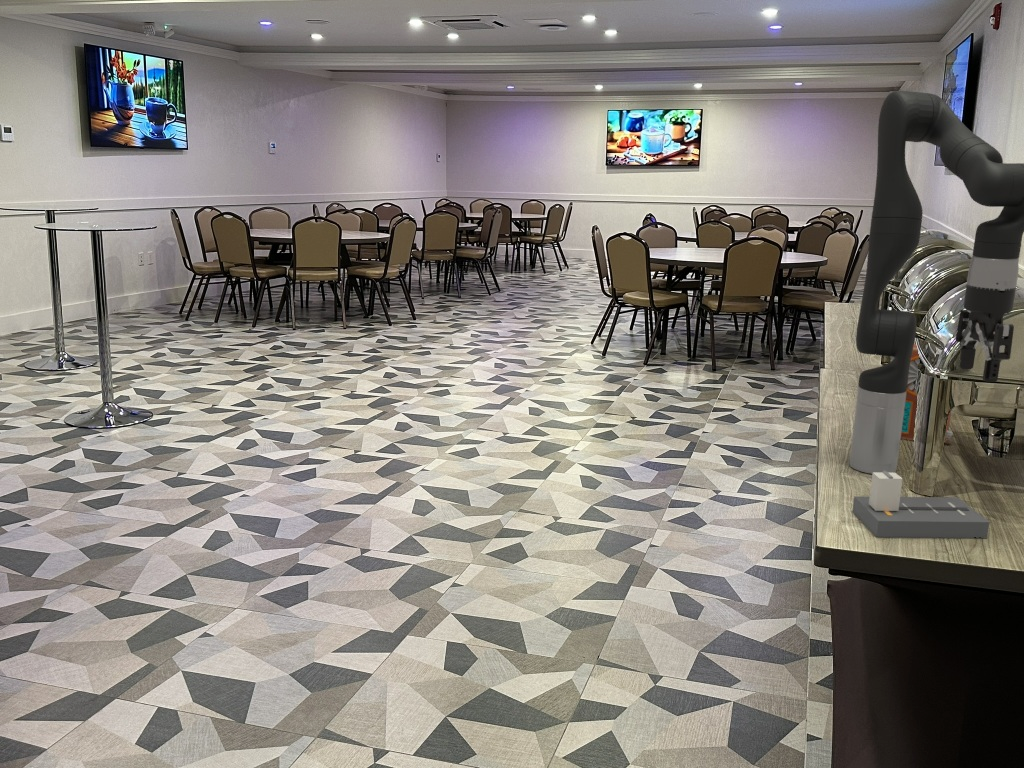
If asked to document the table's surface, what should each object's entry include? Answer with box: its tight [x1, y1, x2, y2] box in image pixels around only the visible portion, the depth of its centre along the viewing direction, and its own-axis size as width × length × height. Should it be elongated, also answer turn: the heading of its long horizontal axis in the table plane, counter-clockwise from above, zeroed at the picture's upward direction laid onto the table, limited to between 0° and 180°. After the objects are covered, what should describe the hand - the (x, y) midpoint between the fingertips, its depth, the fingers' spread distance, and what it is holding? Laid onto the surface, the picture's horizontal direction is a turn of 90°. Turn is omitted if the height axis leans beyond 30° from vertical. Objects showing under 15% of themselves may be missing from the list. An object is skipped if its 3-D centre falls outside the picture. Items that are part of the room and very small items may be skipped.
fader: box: [869, 471, 903, 511], centre depth 155 cm, size 3×4×6 cm
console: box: [852, 496, 991, 539], centre depth 156 cm, size 11×19×3 cm, turn 90°
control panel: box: [889, 343, 957, 443], centre depth 201 cm, size 21×7×15 cm
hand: (977, 374), depth 155 cm, fingers open, 8 cm apart
